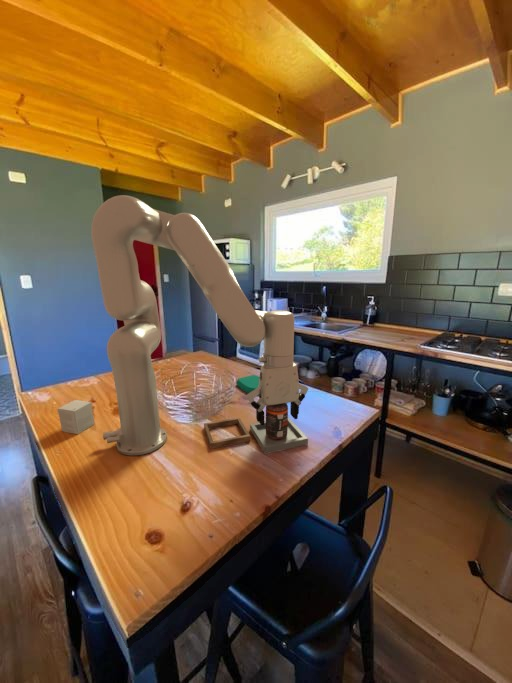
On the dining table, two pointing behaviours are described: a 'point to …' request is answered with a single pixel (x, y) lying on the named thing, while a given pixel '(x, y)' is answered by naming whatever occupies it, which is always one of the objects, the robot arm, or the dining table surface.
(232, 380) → the dining table surface
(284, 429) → the supplement bottle
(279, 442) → the tray
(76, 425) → the product box
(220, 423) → the holder
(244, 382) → the spray bottle
